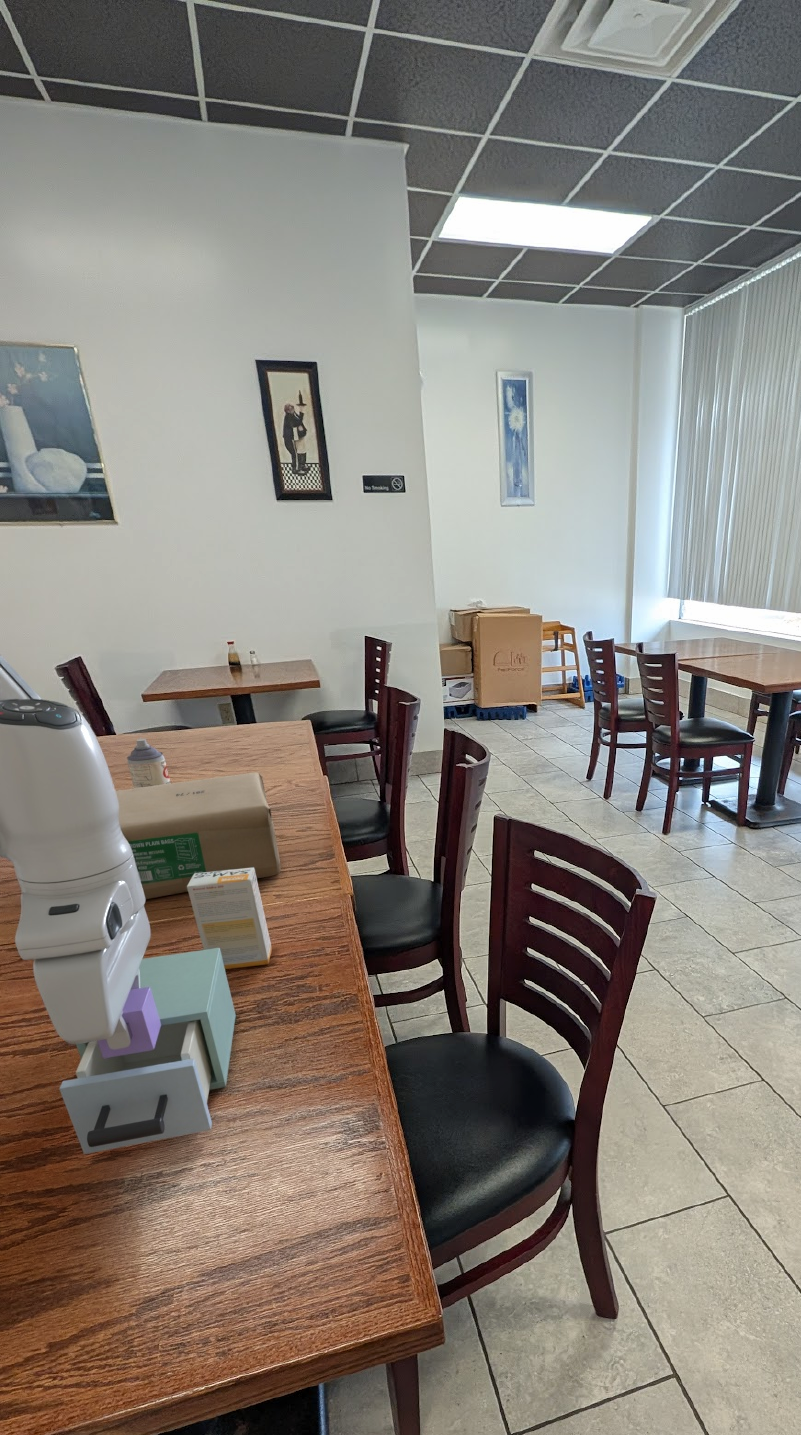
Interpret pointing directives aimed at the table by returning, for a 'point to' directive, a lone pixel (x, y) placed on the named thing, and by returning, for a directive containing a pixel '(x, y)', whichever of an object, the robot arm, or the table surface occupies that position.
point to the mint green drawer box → (193, 1000)
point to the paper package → (198, 830)
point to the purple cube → (137, 1024)
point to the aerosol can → (147, 766)
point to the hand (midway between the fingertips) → (128, 1027)
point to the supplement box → (231, 916)
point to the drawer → (142, 1091)
